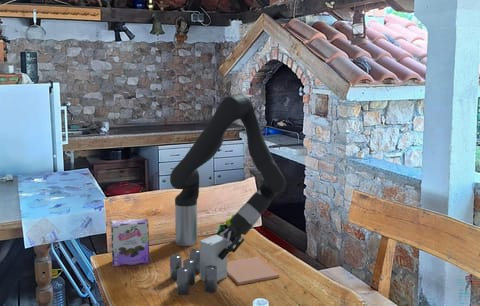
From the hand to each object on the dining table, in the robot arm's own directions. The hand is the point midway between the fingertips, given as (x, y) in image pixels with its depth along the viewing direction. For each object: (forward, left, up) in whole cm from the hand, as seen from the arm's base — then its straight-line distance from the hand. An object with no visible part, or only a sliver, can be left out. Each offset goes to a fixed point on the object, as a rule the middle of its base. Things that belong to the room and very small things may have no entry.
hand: (215, 253), depth 168 cm
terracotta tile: (-1, +13, -9) cm, 16 cm away
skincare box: (0, -1, -9) cm, 9 cm away
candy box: (-26, -25, -9) cm, 37 cm away
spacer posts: (0, -9, -9) cm, 13 cm away
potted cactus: (-35, +19, -9) cm, 41 cm away
